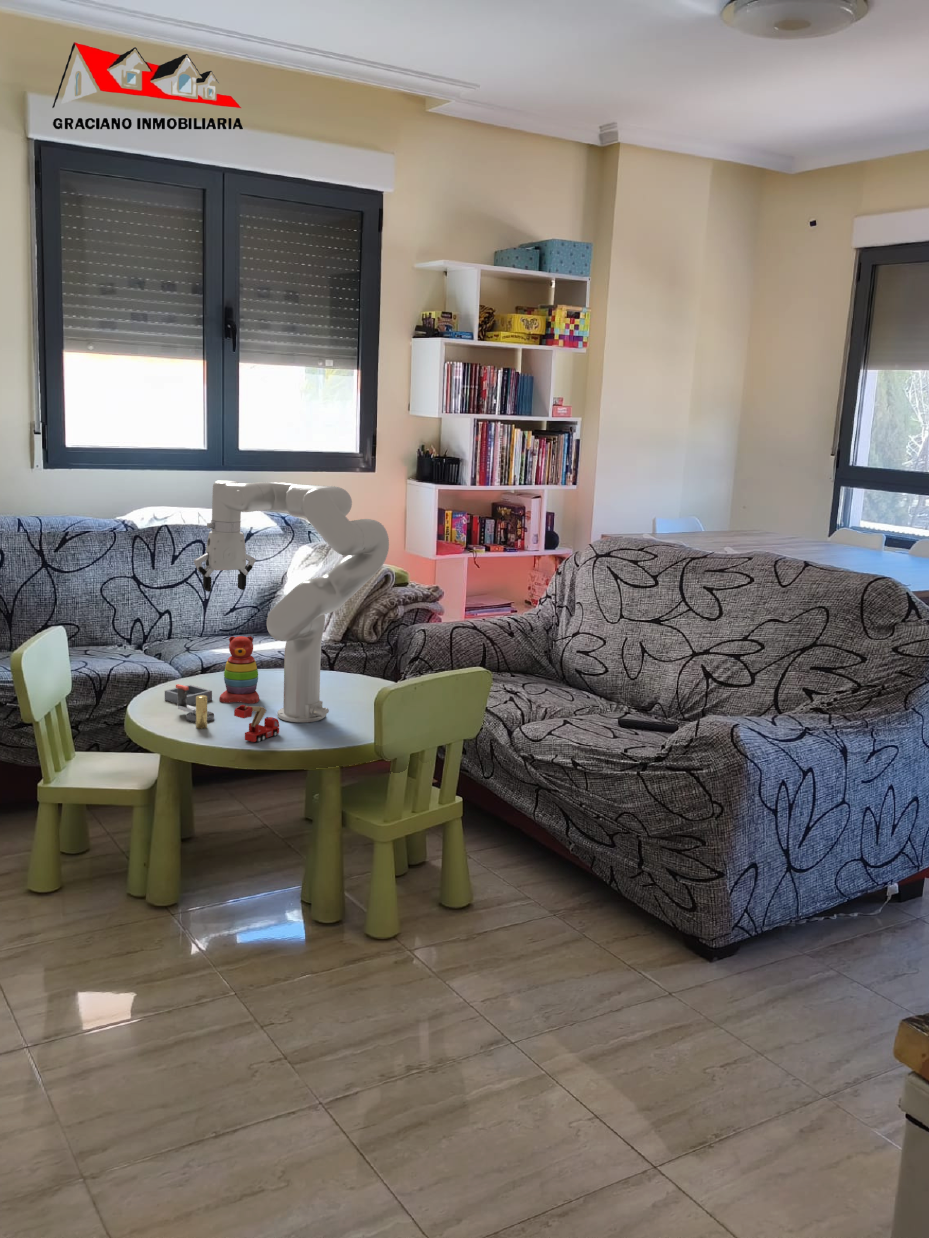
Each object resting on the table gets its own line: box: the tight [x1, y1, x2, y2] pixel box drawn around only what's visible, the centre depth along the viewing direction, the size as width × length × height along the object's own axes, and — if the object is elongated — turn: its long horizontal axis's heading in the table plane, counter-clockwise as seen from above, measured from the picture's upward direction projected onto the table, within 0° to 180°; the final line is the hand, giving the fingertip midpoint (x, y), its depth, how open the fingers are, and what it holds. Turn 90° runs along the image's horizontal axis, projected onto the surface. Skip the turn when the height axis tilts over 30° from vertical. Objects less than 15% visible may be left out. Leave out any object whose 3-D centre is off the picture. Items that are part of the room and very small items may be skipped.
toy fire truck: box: [233, 704, 280, 743], centre depth 269 cm, size 3×14×10 cm, turn 149°
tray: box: [164, 684, 213, 706], centre depth 301 cm, size 9×9×3 cm
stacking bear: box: [218, 635, 260, 705], centre depth 304 cm, size 11×10×18 cm
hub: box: [186, 710, 215, 724], centre depth 284 cm, size 7×7×1 cm
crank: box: [175, 684, 196, 715], centre depth 286 cm, size 11×4×6 cm, turn 55°
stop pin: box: [195, 695, 208, 730], centre depth 277 cm, size 3×3×8 cm
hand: (224, 589), depth 295 cm, fingers open, 9 cm apart
